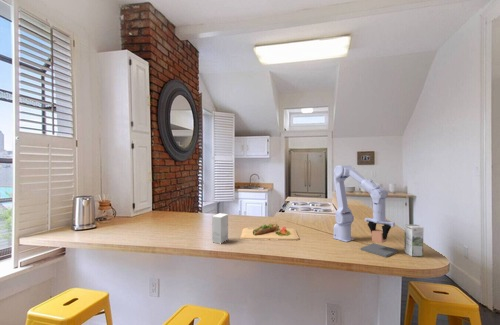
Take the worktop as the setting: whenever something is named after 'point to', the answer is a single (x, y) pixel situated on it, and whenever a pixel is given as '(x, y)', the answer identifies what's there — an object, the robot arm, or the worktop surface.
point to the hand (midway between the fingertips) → (379, 237)
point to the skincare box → (219, 228)
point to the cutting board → (269, 233)
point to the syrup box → (414, 240)
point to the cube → (378, 236)
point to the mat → (379, 250)
